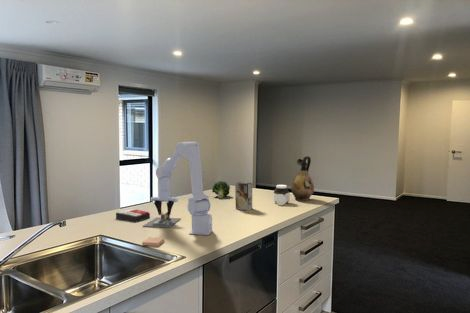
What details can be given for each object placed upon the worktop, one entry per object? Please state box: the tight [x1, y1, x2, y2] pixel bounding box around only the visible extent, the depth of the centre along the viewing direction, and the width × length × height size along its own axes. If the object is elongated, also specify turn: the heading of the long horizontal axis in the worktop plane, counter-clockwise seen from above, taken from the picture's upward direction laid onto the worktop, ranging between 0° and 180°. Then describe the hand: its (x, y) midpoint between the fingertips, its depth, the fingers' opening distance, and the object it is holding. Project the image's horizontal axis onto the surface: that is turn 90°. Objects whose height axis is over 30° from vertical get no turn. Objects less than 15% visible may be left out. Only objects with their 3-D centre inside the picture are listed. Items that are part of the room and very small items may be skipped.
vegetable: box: [211, 180, 231, 199], centre depth 263 cm, size 12×13×15 cm
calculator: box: [115, 208, 151, 223], centre depth 202 cm, size 11×4×15 cm
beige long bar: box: [153, 209, 171, 225], centre depth 193 cm, size 14×6×4 cm, turn 170°
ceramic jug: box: [290, 155, 315, 202], centre depth 251 cm, size 17×15×30 cm
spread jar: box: [273, 184, 291, 206], centre depth 238 cm, size 12×11×12 cm
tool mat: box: [142, 216, 182, 229], centre depth 191 cm, size 14×18×1 cm
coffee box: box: [234, 181, 253, 211], centre depth 224 cm, size 9×6×16 cm
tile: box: [141, 236, 165, 247], centre depth 157 cm, size 7×2×7 cm
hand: (164, 214), depth 194 cm, fingers open, 4 cm apart
